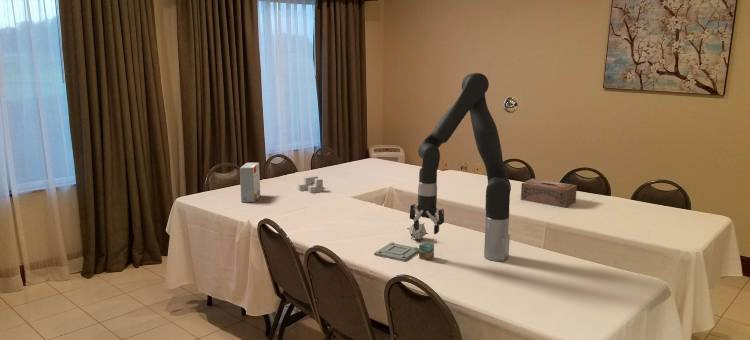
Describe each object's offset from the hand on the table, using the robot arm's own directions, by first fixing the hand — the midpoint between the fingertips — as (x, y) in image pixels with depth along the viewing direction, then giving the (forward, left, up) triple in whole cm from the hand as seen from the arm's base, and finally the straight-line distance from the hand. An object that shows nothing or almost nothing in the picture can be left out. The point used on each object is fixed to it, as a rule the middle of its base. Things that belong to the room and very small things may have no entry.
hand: (426, 231), depth 217 cm
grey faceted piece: (+13, -18, -11) cm, 25 cm away
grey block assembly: (+107, -63, -12) cm, 125 cm away
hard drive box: (+126, -31, -11) cm, 130 cm away
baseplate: (+13, +1, -11) cm, 17 cm away
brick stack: (0, 0, -11) cm, 11 cm away
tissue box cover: (-22, -111, -12) cm, 114 cm away
